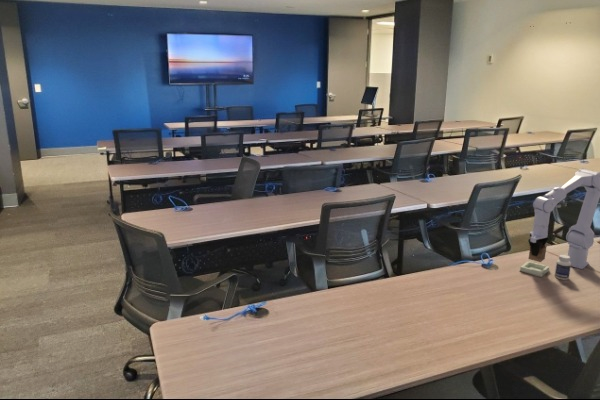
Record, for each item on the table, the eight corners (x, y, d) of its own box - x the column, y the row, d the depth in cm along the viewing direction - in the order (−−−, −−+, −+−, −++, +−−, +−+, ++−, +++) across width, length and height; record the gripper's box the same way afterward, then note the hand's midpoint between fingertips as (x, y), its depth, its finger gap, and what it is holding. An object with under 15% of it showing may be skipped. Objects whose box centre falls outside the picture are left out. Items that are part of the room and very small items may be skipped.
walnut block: (532, 255, 203) (534, 243, 202) (544, 258, 200) (546, 246, 198) (528, 258, 200) (530, 246, 198) (540, 262, 197) (542, 249, 195)
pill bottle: (570, 280, 192) (574, 259, 190) (556, 279, 193) (560, 258, 191) (566, 275, 197) (569, 254, 195) (552, 274, 199) (555, 253, 196)
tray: (527, 265, 208) (528, 260, 207) (548, 271, 202) (549, 266, 201) (519, 271, 202) (520, 266, 201) (541, 277, 196) (542, 272, 195)
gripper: (537, 218, 203) (533, 246, 207) (524, 226, 194) (520, 255, 197) (554, 222, 198) (550, 251, 202) (542, 230, 189) (538, 260, 192)
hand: (536, 253), depth 199 cm, fingers closed on walnut block, 5 cm apart
